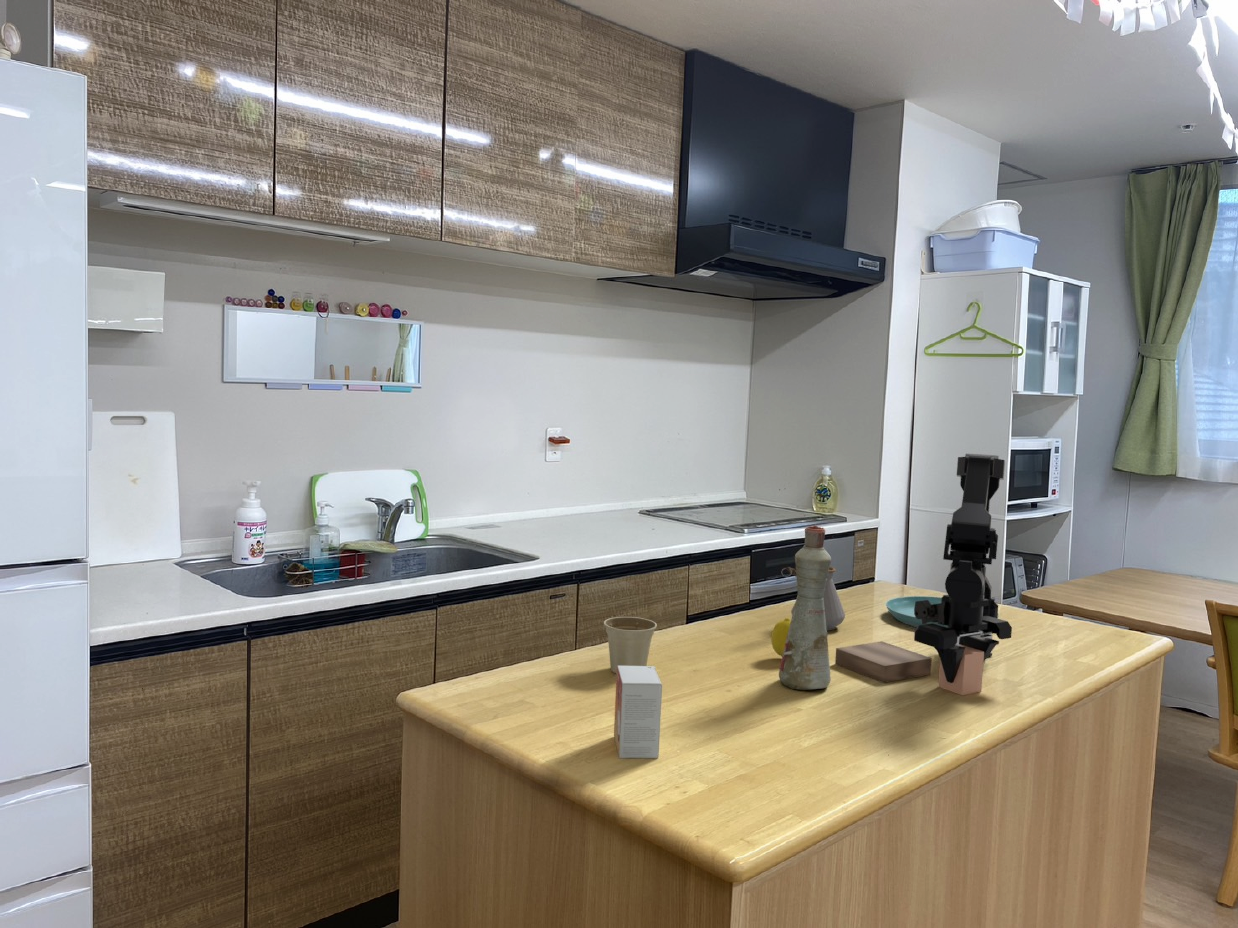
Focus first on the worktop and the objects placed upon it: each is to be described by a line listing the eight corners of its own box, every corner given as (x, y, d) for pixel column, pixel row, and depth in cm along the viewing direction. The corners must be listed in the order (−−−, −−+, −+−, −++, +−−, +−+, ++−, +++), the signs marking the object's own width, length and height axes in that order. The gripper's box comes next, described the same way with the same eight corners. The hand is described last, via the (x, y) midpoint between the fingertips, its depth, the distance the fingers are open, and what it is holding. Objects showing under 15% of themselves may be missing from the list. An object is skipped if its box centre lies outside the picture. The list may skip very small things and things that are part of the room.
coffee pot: (806, 616, 205) (809, 551, 204) (853, 626, 198) (857, 558, 197) (757, 633, 189) (761, 563, 188) (807, 645, 182) (811, 571, 180)
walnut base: (880, 656, 176) (881, 641, 175) (930, 674, 165) (931, 658, 165) (835, 663, 169) (836, 648, 169) (883, 682, 159) (884, 666, 159)
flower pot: (666, 672, 161) (668, 624, 160) (630, 683, 154) (632, 633, 153) (626, 659, 167) (628, 613, 166) (590, 670, 160) (592, 622, 159)
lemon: (800, 665, 168) (802, 622, 167) (769, 662, 169) (772, 620, 168) (800, 656, 173) (802, 615, 173) (770, 654, 174) (773, 613, 174)
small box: (613, 736, 130) (616, 664, 129) (652, 736, 130) (655, 664, 129) (618, 759, 122) (621, 682, 121) (659, 759, 122) (662, 683, 121)
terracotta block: (957, 682, 161) (960, 644, 160) (981, 691, 157) (984, 651, 156) (938, 686, 158) (940, 647, 158) (962, 695, 154) (964, 654, 153)
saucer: (878, 606, 220) (879, 592, 220) (982, 613, 217) (983, 599, 216) (894, 632, 196) (895, 616, 196) (1011, 640, 193) (1012, 624, 192)
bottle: (799, 696, 150) (808, 529, 148) (768, 679, 159) (776, 521, 156) (841, 690, 154) (851, 527, 152) (808, 674, 162) (817, 519, 160)
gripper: (963, 578, 168) (957, 661, 169) (892, 586, 158) (886, 673, 159) (1016, 591, 158) (1010, 678, 159) (944, 600, 149) (938, 692, 150)
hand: (960, 680), depth 157 cm, fingers closed on terracotta block, 5 cm apart
